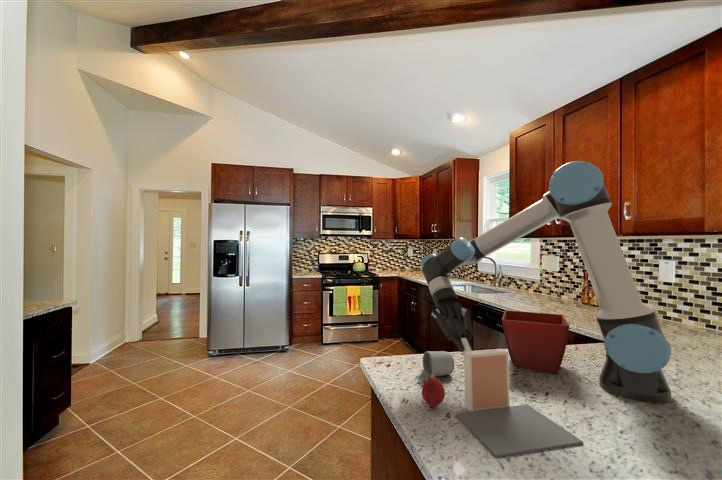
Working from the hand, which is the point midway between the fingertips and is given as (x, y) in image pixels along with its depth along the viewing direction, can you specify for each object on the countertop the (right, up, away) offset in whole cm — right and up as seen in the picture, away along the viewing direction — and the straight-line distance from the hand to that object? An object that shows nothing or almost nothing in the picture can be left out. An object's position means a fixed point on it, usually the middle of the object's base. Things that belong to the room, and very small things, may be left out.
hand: (470, 361), depth 87 cm
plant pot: (+30, -10, +21) cm, 38 cm away
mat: (+4, -8, -17) cm, 19 cm away
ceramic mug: (-6, -10, +15) cm, 19 cm away
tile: (+2, -9, -7) cm, 12 cm away
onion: (-12, -9, -7) cm, 17 cm away
